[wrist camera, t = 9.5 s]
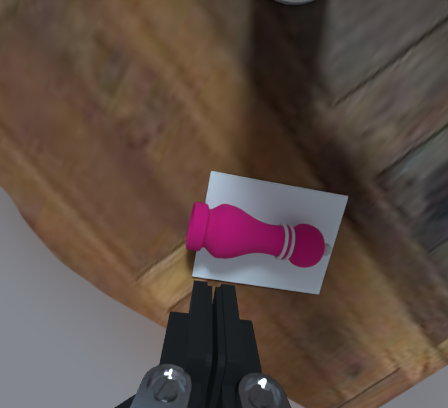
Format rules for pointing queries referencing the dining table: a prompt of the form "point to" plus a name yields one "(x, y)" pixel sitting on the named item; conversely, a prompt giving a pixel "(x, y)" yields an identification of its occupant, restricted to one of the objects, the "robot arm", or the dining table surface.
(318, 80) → the dining table surface
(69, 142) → the dining table surface
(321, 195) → the mat
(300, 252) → the pepper mill
